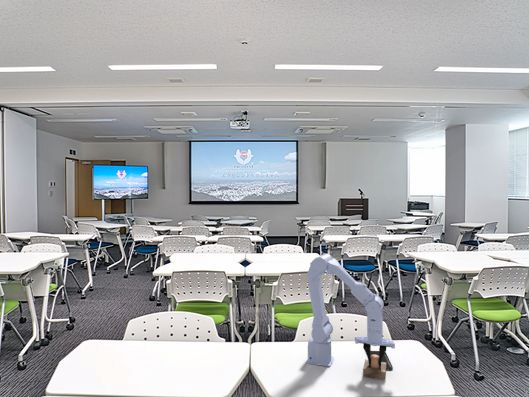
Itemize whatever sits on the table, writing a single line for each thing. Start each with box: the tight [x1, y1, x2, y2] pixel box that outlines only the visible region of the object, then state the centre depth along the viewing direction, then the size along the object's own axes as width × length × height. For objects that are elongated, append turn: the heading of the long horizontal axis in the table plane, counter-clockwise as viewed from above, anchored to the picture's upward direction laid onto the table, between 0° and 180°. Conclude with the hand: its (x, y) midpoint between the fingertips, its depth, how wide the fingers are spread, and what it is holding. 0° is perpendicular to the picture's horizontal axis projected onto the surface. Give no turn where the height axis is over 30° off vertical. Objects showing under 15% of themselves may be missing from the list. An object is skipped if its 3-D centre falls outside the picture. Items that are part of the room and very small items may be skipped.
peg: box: [371, 354, 379, 369], centre depth 142 cm, size 3×3×6 cm
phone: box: [371, 350, 394, 371], centre depth 152 cm, size 8×1×15 cm
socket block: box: [362, 359, 387, 381], centre depth 142 cm, size 8×8×3 cm
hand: (374, 363), depth 142 cm, fingers closed on peg, 3 cm apart
